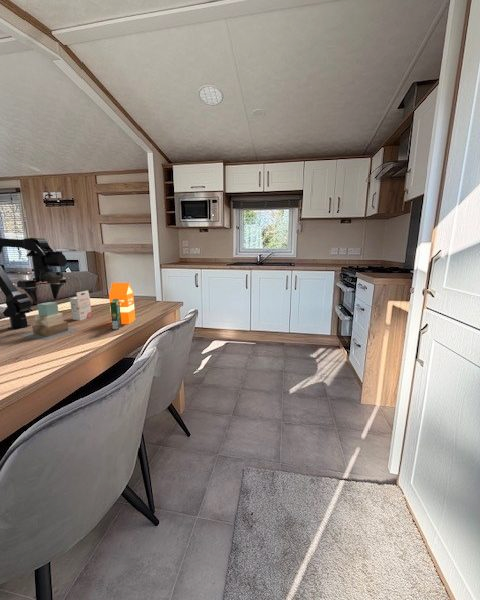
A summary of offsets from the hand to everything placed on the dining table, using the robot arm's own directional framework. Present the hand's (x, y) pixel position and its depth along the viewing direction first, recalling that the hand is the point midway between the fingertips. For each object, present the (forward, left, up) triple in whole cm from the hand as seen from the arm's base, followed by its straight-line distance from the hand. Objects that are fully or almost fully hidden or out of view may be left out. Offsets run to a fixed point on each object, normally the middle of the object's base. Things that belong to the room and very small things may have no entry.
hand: (45, 300), depth 123 cm
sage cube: (+9, -6, -5) cm, 12 cm away
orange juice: (+26, +19, -13) cm, 35 cm away
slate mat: (+9, -6, -13) cm, 17 cm away
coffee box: (+30, +10, -13) cm, 34 cm away
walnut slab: (+9, -6, -13) cm, 17 cm away
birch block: (+9, -6, -9) cm, 14 cm away
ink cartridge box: (0, +18, -13) cm, 22 cm away
